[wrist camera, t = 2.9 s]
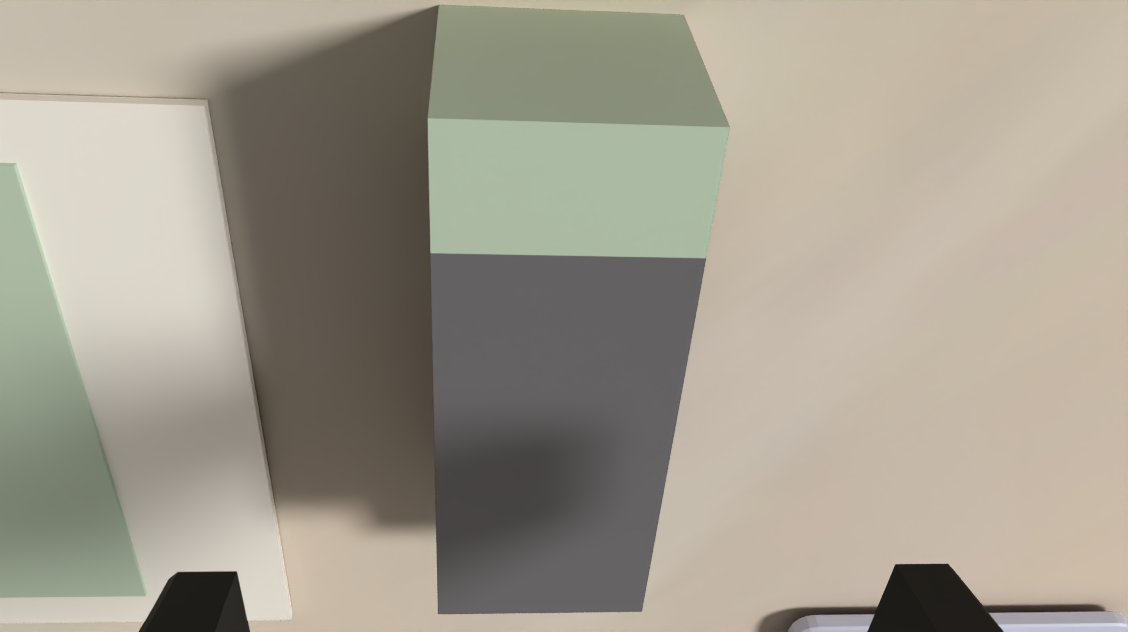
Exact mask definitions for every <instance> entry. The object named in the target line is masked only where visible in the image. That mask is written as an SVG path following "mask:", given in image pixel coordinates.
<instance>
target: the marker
mask: <svg viewBox="0 0 1128 632" xmlns="http://www.w3.org/2000/svg"><path fill="white" fill-rule="evenodd" d="M729 130H730V126H729V124H728V121H727V119H726V116H725V114H724V112H723V109H722V107H721V104H720V102H719V99H718V97H717V94H716V92H715V90H714V87H713V85H712V82H711V80H710V77H709V75H708V72H707V70H706V68H705V65H704V63H703V60H702V58H701V55H700V53H699V51H698V48H697V46H696V43H695V41H694V38H693V36H692V33H691V31H690V29H689V26H688V24H687V21H686V19H685V16H684V15H680V14H655V13H630V12H605V11H580V10H555V9H530V8H506V7H481V6H456V5H439V9H438V19H437V29H436V39H435V49H434V59H433V69H432V79H431V89H430V99H429V109H428V161H429V209H430V257H431V304H432V352H433V400H434V447H435V495H436V543H437V591H438V614H493V613H572V612H642V608H643V602H644V597H645V591H646V586H647V580H648V575H649V569H650V564H651V558H652V553H653V547H654V542H655V536H656V531H657V525H658V520H659V514H660V509H661V503H662V498H663V492H664V487H665V481H666V476H667V470H668V465H669V459H670V454H671V448H672V443H673V437H674V432H675V426H676V421H677V415H678V410H679V404H680V399H681V394H682V388H683V383H684V377H685V372H686V366H687V361H688V355H689V350H690V344H691V339H692V333H693V328H694V322H695V317H696V311H697V306H698V300H699V295H700V289H701V284H702V278H703V273H704V267H705V262H706V256H707V251H708V245H709V240H710V234H711V229H712V223H713V218H714V212H715V207H716V201H717V196H718V190H719V185H720V179H721V174H722V168H723V163H724V157H725V152H726V146H727V141H728V135H729Z"/></svg>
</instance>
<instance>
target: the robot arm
mask: <svg viewBox="0 0 1128 632" xmlns="http://www.w3.org/2000/svg"><path fill="white" fill-rule="evenodd" d="M139 632H250V630H249V625H248V621H247V616H246V611H245V607H244V602H243V597H242V593H241V588H240V583H239V579H238V574H237V571H209V572H177V573H176V574H174V575H173V576H172V577H170V578H169V579H168V581H167V583H166V585H165V586H164V588H163V590H162V592H161V594H160V595H159V597H158V599H157V601H156V603H155V604H154V606H153V608H152V610H151V611H150V613H149V615H148V617H147V618H146V620H145V622H144V624H143V625H142V627H141V629H140V630H139ZM788 632H1128V621H1127V619H1126V617H1125V616H1124V615H1123V614H1121V613H1119V612H1112V611H1095V612H1013V613H988V611H987V610H986V609H985V608H984V607H983V605H982V604H981V603H980V602H979V600H978V599H977V598H976V597H975V596H974V594H973V593H972V592H971V591H970V589H969V588H968V587H967V586H966V584H965V583H964V582H963V581H962V580H961V578H960V577H959V576H958V575H957V574H956V572H955V571H954V570H953V569H952V568H951V567H950V566H949V564H895V567H894V569H893V572H892V574H891V576H890V579H889V581H888V584H887V586H886V588H885V591H884V593H883V595H882V598H881V600H880V603H879V605H878V607H877V610H876V612H875V614H849V615H810V616H805V617H802V618H799V619H798V620H796V621H795V622H794V623H793V624H792V625H791V627H790V628H789V630H788Z"/></svg>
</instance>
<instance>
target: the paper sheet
mask: <svg viewBox="0 0 1128 632" xmlns="http://www.w3.org/2000/svg"><path fill="white" fill-rule="evenodd" d="M209 571H237V574H238V579H239V583H240V588H241V593H242V597H243V602H244V607H245V611H246V616H247V620H291V617H292V607H291V601H290V595H289V589H288V583H287V577H286V571H285V565H284V559H283V553H282V547H281V541H280V535H279V528H278V522H277V516H276V510H275V504H274V498H273V492H272V486H271V480H270V474H269V468H268V462H267V456H266V450H265V444H264V438H263V432H262V426H261V420H260V414H259V408H258V402H257V396H256V390H255V384H254V378H253V372H252V366H251V360H250V354H249V348H248V342H247V336H246V330H245V324H244V318H243V311H242V305H241V299H240V293H239V287H238V281H237V275H236V269H235V263H234V257H233V251H232V245H231V239H230V233H229V227H228V221H227V215H226V209H225V203H224V197H223V191H222V185H221V179H220V173H219V167H218V161H217V155H216V149H215V143H214V137H213V131H212V125H211V119H210V113H209V107H208V101H207V100H206V99H174V98H142V97H111V96H79V95H47V94H15V93H0V623H77V622H145V620H146V618H147V617H148V615H149V613H150V611H151V610H152V608H153V606H154V604H155V603H156V601H157V599H158V597H159V595H160V594H161V592H162V590H163V588H164V586H165V585H166V583H167V581H168V579H169V578H170V577H172V576H173V575H174V574H176V573H177V572H209Z"/></svg>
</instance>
